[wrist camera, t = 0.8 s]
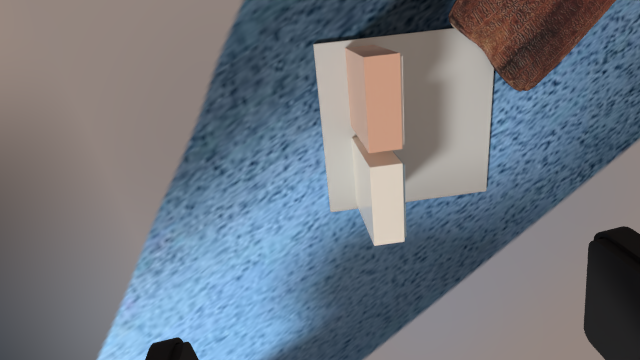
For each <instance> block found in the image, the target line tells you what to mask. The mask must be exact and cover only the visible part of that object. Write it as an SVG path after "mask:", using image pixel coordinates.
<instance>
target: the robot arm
mask: <svg viewBox="0 0 640 360" xmlns="http://www.w3.org/2000/svg"><path fill="white" fill-rule="evenodd" d="M584 331H585V334H586V336H587V338H588V340H589V342H590V343H591V344H592V345H593V346H594V348H596V350H597V351H598V352H599V353H600V354H601V355H602V356H603V357H604V359H605V360H640V234H639V233H637V232H636V231H634V230H633V229H631V228H629V227H619V228H615V229H611V230H607V231H603V232H599V233H597V234H596V235H595V236H594V241H591V242H590V243H589V248H588V265H587V281H586V299H585V315H584ZM145 360H198V358H197V356H196V354H195V352H194V350H193V348H192V346H191V344H190V343H189V342H184V343H183V341H182V340H181V339H180V338H179V337H178V338H173V339H169V340H164V341H160V342H156V343H153V344H152V345H151V347H150V348H149V351H148V353H147V356H146V359H145Z"/></svg>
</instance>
